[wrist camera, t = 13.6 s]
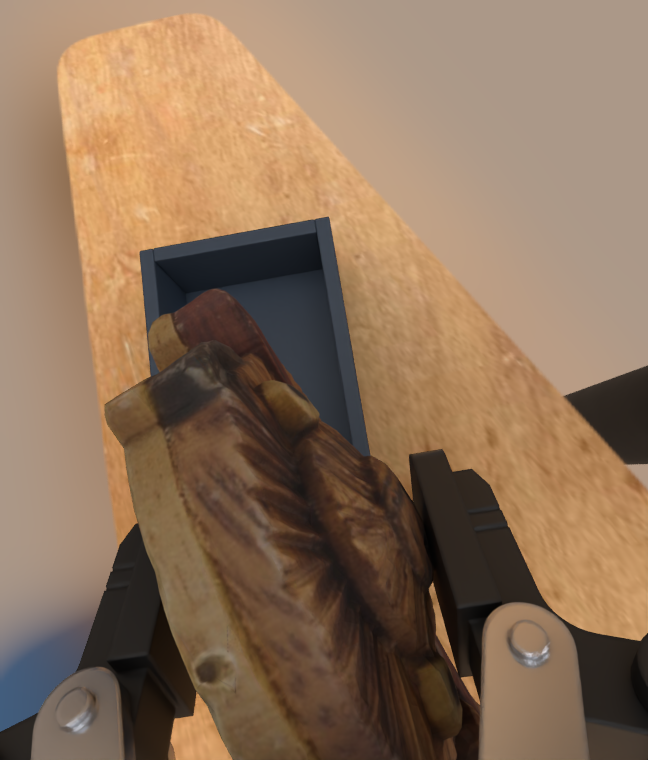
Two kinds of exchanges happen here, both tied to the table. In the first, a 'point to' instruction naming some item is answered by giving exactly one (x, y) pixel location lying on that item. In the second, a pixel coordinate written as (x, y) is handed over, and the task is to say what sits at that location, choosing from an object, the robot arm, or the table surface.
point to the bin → (273, 306)
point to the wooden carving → (283, 556)
